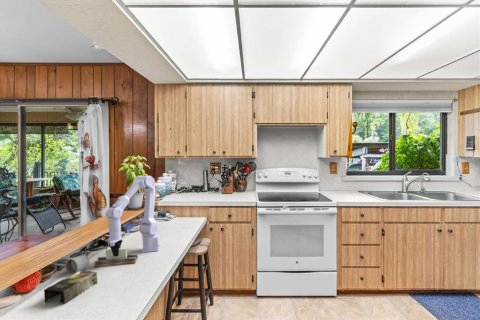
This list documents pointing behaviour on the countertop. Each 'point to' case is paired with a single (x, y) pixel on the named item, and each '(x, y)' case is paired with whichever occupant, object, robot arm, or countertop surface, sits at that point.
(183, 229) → the countertop surface
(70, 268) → the grey cylinder
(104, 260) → the track board
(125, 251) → the door panel
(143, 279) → the countertop surface
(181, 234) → the countertop surface
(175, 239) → the countertop surface
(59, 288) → the mossy channel block
